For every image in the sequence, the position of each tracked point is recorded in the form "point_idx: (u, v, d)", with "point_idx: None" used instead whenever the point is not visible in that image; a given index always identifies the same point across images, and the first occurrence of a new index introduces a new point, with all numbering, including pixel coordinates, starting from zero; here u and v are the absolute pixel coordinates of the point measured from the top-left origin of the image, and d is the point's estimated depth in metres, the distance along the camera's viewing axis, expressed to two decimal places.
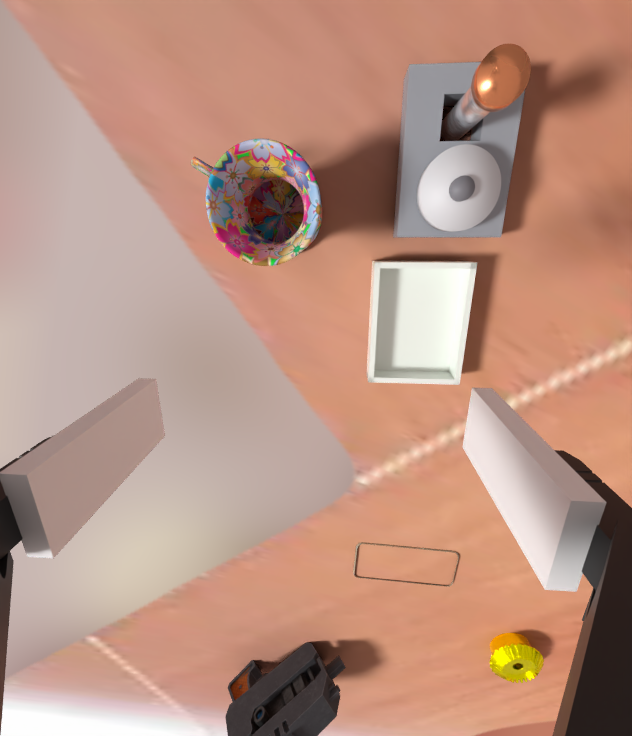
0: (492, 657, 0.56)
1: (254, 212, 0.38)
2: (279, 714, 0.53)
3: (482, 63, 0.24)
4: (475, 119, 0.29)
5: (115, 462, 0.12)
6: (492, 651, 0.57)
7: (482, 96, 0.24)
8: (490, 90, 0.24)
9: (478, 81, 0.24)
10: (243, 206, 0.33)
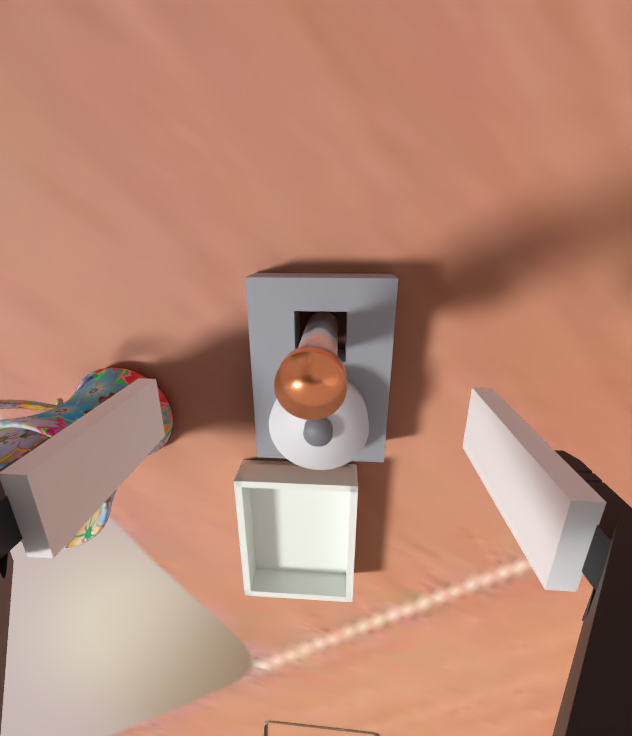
0: None
1: None
2: None
3: (278, 372, 0.16)
4: None
5: (115, 462, 0.12)
6: None
7: (286, 407, 0.17)
8: (294, 402, 0.17)
9: (276, 392, 0.17)
10: None
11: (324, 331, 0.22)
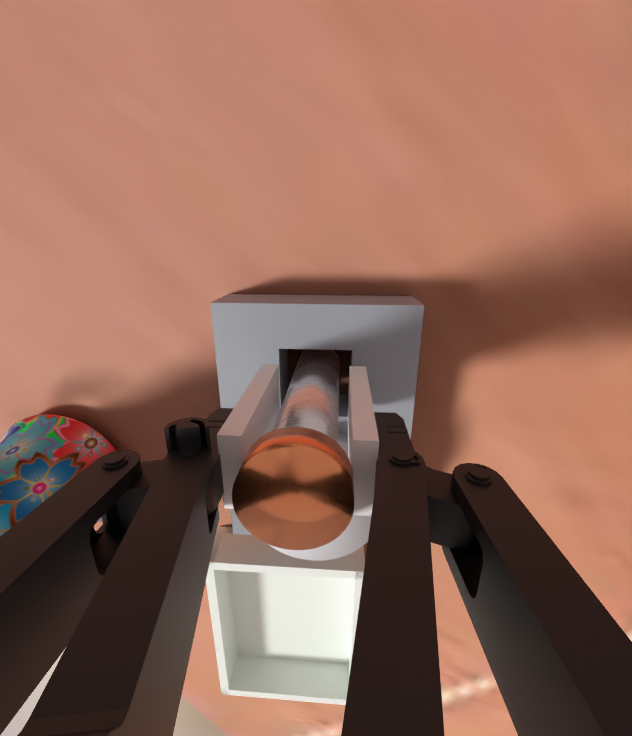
0: None
1: None
2: None
3: (238, 477, 0.10)
4: None
5: None
6: None
7: (253, 529, 0.10)
8: (267, 524, 0.10)
9: (236, 508, 0.10)
10: None
11: (319, 383, 0.15)
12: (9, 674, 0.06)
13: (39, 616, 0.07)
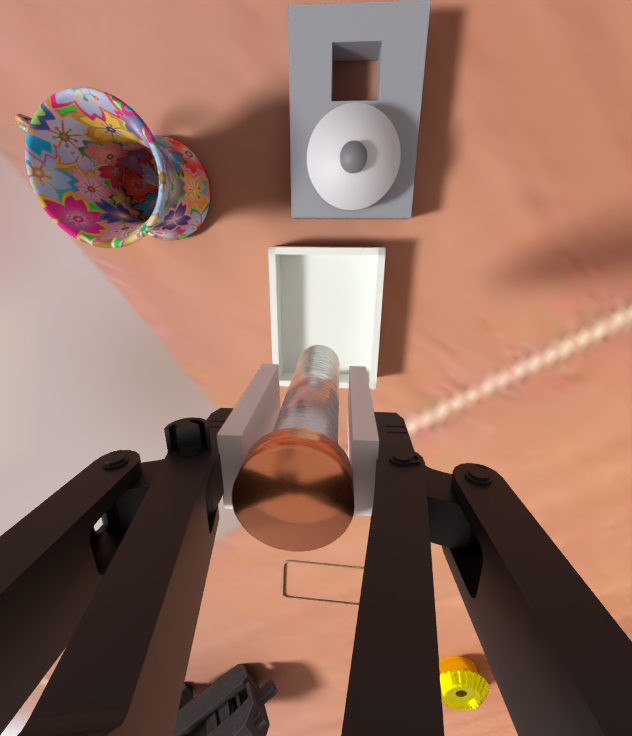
0: None
1: (133, 188, 0.33)
2: None
3: (238, 478, 0.10)
4: None
5: (265, 434, 0.14)
6: None
7: (253, 530, 0.10)
8: (267, 525, 0.10)
9: (235, 510, 0.10)
10: (99, 178, 0.28)
11: (319, 384, 0.15)
12: (9, 674, 0.06)
13: (39, 616, 0.07)
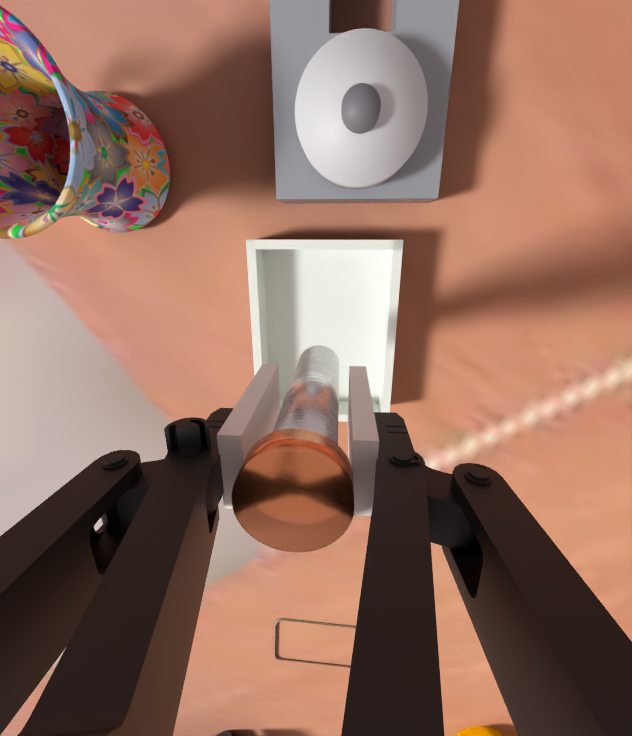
0: None
1: (70, 164, 0.25)
2: None
3: (238, 479, 0.10)
4: None
5: (265, 434, 0.14)
6: None
7: (253, 531, 0.10)
8: (266, 526, 0.10)
9: (235, 510, 0.10)
10: (7, 143, 0.20)
11: (319, 384, 0.15)
12: (9, 674, 0.06)
13: (39, 616, 0.07)
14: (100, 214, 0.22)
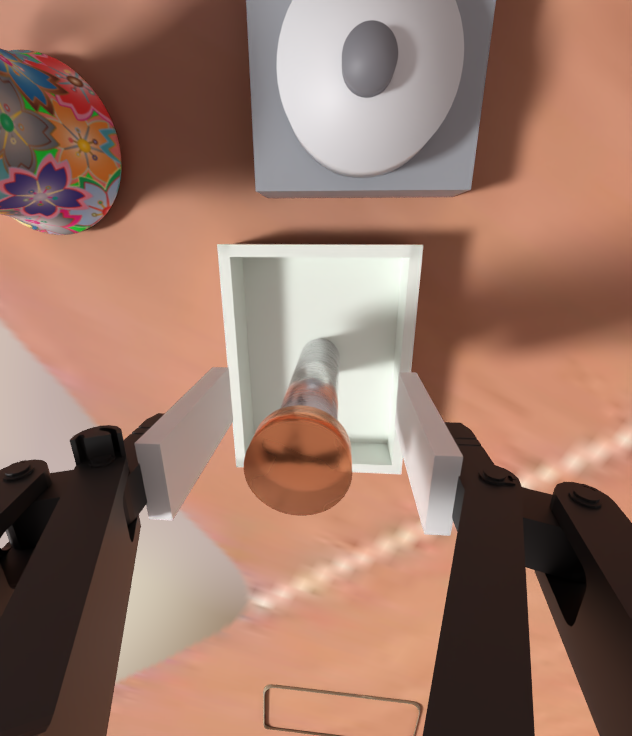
0: None
1: None
2: None
3: (250, 448, 0.11)
4: None
5: (206, 440, 0.14)
6: None
7: (262, 496, 0.12)
8: (274, 491, 0.11)
9: (247, 477, 0.11)
10: None
11: (321, 372, 0.16)
12: None
13: None
14: (22, 211, 0.17)
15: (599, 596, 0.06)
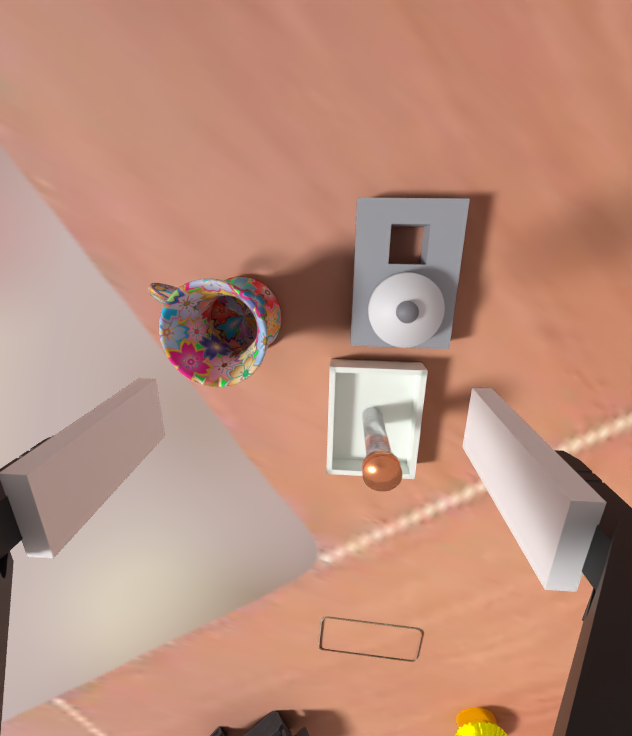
0: (457, 734, 0.55)
1: (217, 313, 0.40)
2: None
3: (365, 466, 0.31)
4: None
5: (115, 462, 0.12)
6: (457, 726, 0.57)
7: (367, 484, 0.31)
8: (373, 481, 0.31)
9: (363, 476, 0.31)
10: (201, 320, 0.35)
11: (381, 430, 0.36)
12: None
13: None
14: None
15: None
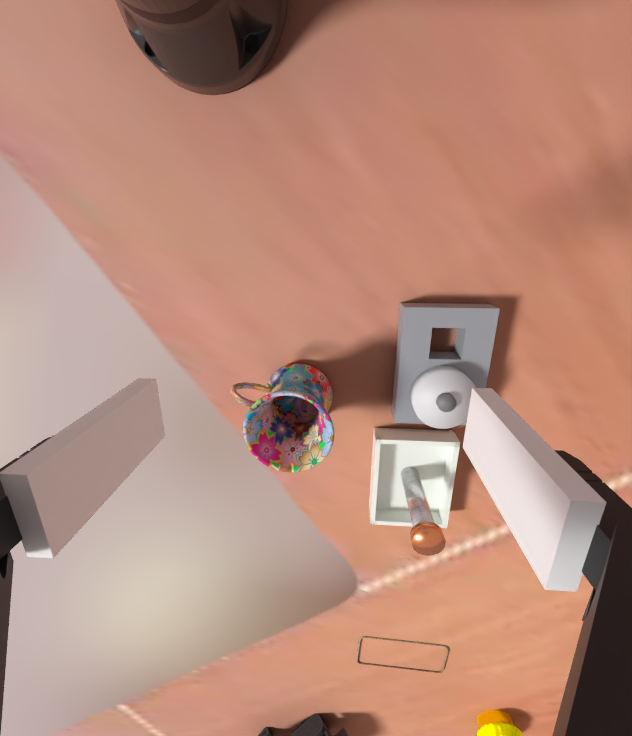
0: (478, 733, 0.63)
1: None
2: None
3: (415, 536, 0.37)
4: None
5: (115, 462, 0.12)
6: (478, 726, 0.65)
7: (416, 549, 0.38)
8: (420, 548, 0.38)
9: (413, 544, 0.38)
10: (269, 408, 0.41)
11: (421, 496, 0.43)
12: None
13: None
14: None
15: None
